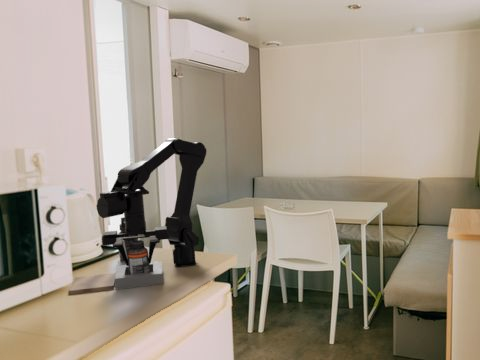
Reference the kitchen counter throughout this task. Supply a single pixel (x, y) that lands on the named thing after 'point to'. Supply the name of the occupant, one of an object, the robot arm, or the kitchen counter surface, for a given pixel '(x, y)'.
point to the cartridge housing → (138, 276)
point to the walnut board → (92, 283)
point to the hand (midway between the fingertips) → (138, 264)
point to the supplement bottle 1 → (127, 242)
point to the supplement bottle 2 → (138, 258)
